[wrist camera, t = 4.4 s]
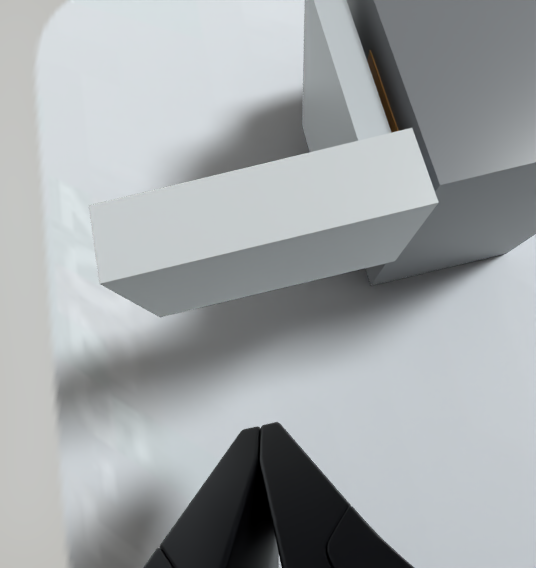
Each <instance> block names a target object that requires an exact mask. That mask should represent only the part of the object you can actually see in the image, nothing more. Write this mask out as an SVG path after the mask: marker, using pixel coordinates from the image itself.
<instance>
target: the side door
mask: <svg viewBox="0 0 536 568" xmlns="http://www.w3.org/2000/svg"><path fill="white" fill-rule="evenodd" d="M302 127H303V130H304V134H305V137H306V141H307V145H308V148H309V153H305V154H301V155H296V156H292V157H288V158H284V159H280V160H276V161H272V162H267V163H263V164H259V165H255V166H251V167H247V168H242V169H238V170H234V171H230V172H226V173H222V174H218V175H213V176H209V177H205V178H201V179H197V180H193V181H188V182H184V183H180V184H176V185H172V186H168V187H163V188H159V189H155V190H151V191H147V192H143V193H139V194H134V195H130V196H126V197H122V198H118V199H114V200H109V201H105V202H101V203H97V204H93V205H89V212H90V219H91V226H92V234H93V241H94V248H95V255H96V263H97V270H98V277H99V284H101V285H103V286H104V287H106V288H108V289H110V290H112V291H113V292H115V293H117V294H119V295H121V296H122V297H124V298H126V299H128V300H130V301H132V302H133V303H135V304H137V305H139V306H141V307H142V308H144V309H146V310H148V311H150V312H152V313H153V314H155V315H157V316H159V317H163V316H167V315H172V314H176V313H180V312H184V311H188V310H192V309H197V308H201V307H205V306H209V305H213V304H218V303H222V302H226V301H230V300H234V299H239V298H243V297H247V296H251V295H255V294H259V293H264V292H268V291H272V290H276V289H280V288H285V287H289V286H293V285H297V284H301V283H306V282H310V281H314V280H318V279H322V278H327V277H331V276H335V275H339V274H343V273H347V272H352V271H356V270H360V269H364V268H368V267H373V266H377V265H381V264H385V263H389V262H394V261H395V260H396V259H397V258H398V256H399V255H400V254H401V252H402V251H403V250H404V248H405V247H406V246H407V244H408V243H409V242H410V240H411V239H412V238H413V236H414V235H415V234H416V232H417V231H418V230H419V228H420V227H421V226H422V224H423V223H424V222H425V220H426V219H427V218H428V216H429V215H430V213H431V212H432V211H433V209H434V208H435V207H436V205H437V204H438V203H439V202H438V199H437V196H436V194H435V191H434V188H433V185H432V182H431V180H430V177H429V174H428V171H427V168H426V165H425V163H424V160H423V157H422V154H421V151H420V148H419V146H418V143H417V140H416V137H415V134H414V132H413V129H412V128H409V129H405V130H400V131H396V132H391V129H390V127H389V124H388V121H387V118H386V115H385V112H384V109H383V106H382V103H381V100H380V97H379V94H378V91H377V88H376V85H375V82H374V79H373V77H372V74H371V71H370V68H369V65H368V62H367V59H366V56H365V53H364V50H363V47H362V44H361V41H360V38H359V35H358V32H357V29H356V27H355V24H354V21H353V18H352V15H351V12H350V9H349V6H348V3H347V0H305V14H304V63H303V112H302Z"/></svg>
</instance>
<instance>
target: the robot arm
mask: <svg viewBox="0 0 536 568" xmlns="http://www.w3.org/2000/svg"><path fill="white" fill-rule="evenodd" d="M279 556H280V561H281V565H282V568H414V567H413V566H412V565H411V564H409V563H408V562H407V561H406V560H405V559H404V558H402V557H401V556H400V555H399V554H398V553H397V552H396V551H395V550H394V549H393V548H392V547H391V546H389V545H388V544H387V543H386V542H385V541H384V540H383V539H382V538H381V537H380V536H379V535H378V534H377V533H376V532H375V531H374V530H373V529H372V528H371V527H370V526H369V524H368V523H367V522H366V521H365V520H364V519H363V518H362V517H361V516H360V515H359V513H358V512H357V511H356V510H355V509H354V508H353V507H351V505H350V504H349V503H348V501H347V500H346V499H345V498H344V497H343V496H342V495H341V493H340V492H339V491H338V490H337V489H336V488H335V486H334V485H333V484H332V483H331V482H330V481H329V480H328V478H327V477H326V476H325V475H324V474H323V473H322V471H321V470H320V469H319V468H318V467H317V466H316V464H315V463H314V462H313V461H312V460H311V459H310V458H309V456H308V455H307V454H306V453H305V452H304V451H303V449H302V448H301V447H300V446H299V445H298V444H297V443H296V441H295V440H294V439H293V438H292V437H291V436H290V434H289V433H288V432H287V431H286V430H285V429H284V428H283V426H282V425H281V424H280V423H278V422H275V423H271V424H266V425H263V426H262V427H261V428H260V427H253V428H248V429H244V430H242V431H241V432H240V434H239V435H238V436H237V438H236V439H235V441H234V442H233V443H232V445H231V446H230V448H229V449H228V450H227V452H226V453H225V455H224V456H223V457H222V459H221V460H220V462H219V463H218V465H217V466H216V467H215V469H214V470H213V472H212V473H211V474H210V476H209V477H208V479H207V480H206V481H205V483H204V484H203V486H202V487H201V488H200V490H199V491H198V493H197V494H196V496H195V497H194V498H193V500H192V501H191V503H190V504H189V505H188V507H187V508H186V510H185V511H184V512H183V514H182V515H181V517H180V518H179V519H178V521H177V522H176V524H175V525H174V527H173V528H172V529H171V531H170V532H169V534H168V535H167V536H166V538H165V539H164V541H163V542H162V543H161V545H160V548H157V549H156V551H155V552H154V554H153V555H152V556H151V558H150V559H149V561H148V562H147V563H146V565H145V566H144V567H143V568H278V557H279Z"/></svg>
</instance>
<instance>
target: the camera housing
mask: <svg viewBox="0 0 536 568" xmlns="http://www.w3.org/2000/svg"><path fill="white" fill-rule="evenodd" d="M347 3H348V6H349V9H350V12H351V15H352V18H353V21H354V24H355V27H356V29H357V32H358V35H359V38H360V41H361V44H362V47H363V50H364V53H365V56H366V59H367V62H368V65H369V68H370V71H371V74H372V77H373V79H374V82H375V85H376V88H377V91H378V94H379V97H380V100H381V103H382V106H383V109H384V112H385V115H386V118H387V121H388V124H389V127H390V129H391V132H396V131H400V130H405V129H409V128H412V129H413V132H414V134H415V137H416V140H417V143H418V146H419V148H420V151H421V154H422V157H423V160H424V163H425V165H426V168H427V171H428V174H429V177H430V180H431V182H432V185H433V188H434V191H435V194H436V196H437V199H438V202H439V203H438V204H437V205H436V207H435V208H434V209H433V211H432V212H431V213H430V215H429V216H428V218H427V219H426V220H425V222H424V223H423V224H422V226H421V227H420V228H419V230H418V231H417V232H416V234H415V235H414V236H413V238H412V239H411V240H410V242H409V243H408V244H407V246H406V247H405V248H404V250H403V251H402V252H401V254H400V255H399V256H398V258H397V259H396V260H395V261H394V262H389V263H385V264H381V265H377V266H373V267H368V268H365V269H366V272H367V276H368V279H369V282H370V286H372V285H376V284H381V283H385V282H389V281H393V280H397V279H401V278H406V277H410V276H414V275H418V274H422V273H427V272H431V271H435V270H439V269H443V268H448V267H452V266H456V265H460V264H464V263H469V262H473V261H477V260H481V259H485V258H490V257H494V256H498V255H502V254H506V253H508V252H509V251H511V250H512V249H514V248H515V247H517V246H518V245H520V244H521V243H523V242H524V241H526V240H527V239H529V238H530V237H532V236H533V235H535V234H536V0H347Z"/></svg>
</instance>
